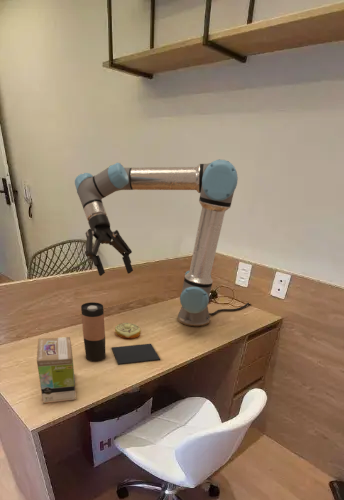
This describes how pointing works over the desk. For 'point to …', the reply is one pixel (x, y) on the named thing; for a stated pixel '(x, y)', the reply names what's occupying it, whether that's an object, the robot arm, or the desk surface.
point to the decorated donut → (127, 330)
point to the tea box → (56, 369)
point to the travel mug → (93, 331)
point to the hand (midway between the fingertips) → (116, 273)
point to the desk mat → (135, 354)
